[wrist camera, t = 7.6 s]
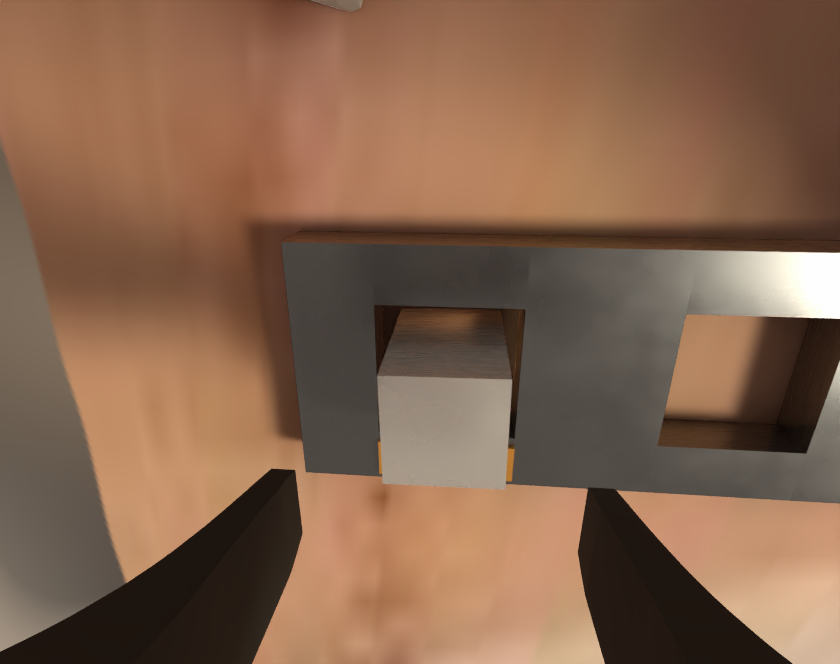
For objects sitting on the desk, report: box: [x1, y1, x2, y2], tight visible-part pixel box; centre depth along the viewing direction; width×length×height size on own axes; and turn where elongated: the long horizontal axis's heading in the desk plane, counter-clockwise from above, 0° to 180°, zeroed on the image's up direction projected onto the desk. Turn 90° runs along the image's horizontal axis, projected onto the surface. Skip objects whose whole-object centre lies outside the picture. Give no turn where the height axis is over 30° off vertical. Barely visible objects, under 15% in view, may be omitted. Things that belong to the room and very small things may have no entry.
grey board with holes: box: [281, 231, 840, 503], centre depth 19 cm, size 23×10×2 cm, turn 90°
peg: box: [377, 308, 512, 490], centre depth 18 cm, size 4×4×6 cm
